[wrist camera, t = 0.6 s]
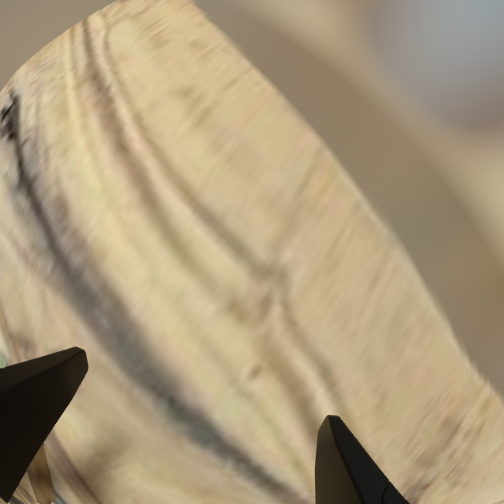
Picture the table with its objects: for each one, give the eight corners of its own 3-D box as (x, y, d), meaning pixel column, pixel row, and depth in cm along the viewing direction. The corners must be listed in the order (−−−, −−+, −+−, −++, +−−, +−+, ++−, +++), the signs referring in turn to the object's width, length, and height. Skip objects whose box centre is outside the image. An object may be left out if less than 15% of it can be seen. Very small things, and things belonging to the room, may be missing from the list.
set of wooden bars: (69, 534, 16) (62, 543, 13) (-12, 481, 15) (-20, 486, 12) (42, 440, 19) (30, 449, 16) (-39, 381, 18) (-51, 384, 15)
